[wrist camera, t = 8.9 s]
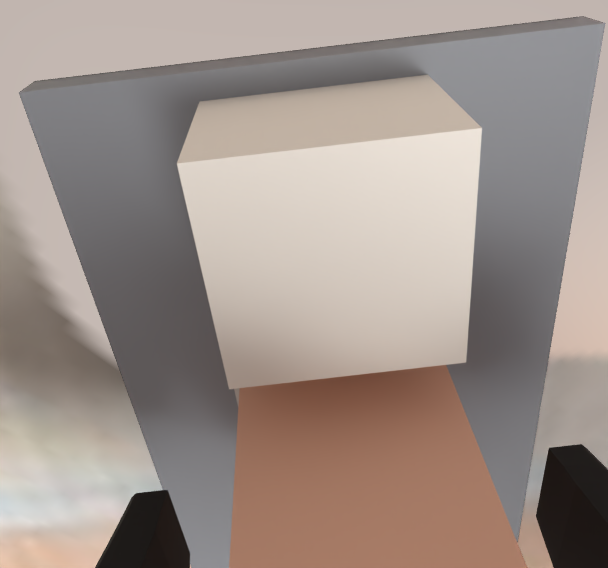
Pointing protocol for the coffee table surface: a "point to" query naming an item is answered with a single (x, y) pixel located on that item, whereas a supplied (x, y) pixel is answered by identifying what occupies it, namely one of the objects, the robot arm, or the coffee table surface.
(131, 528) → the robot arm
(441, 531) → the terracotta block
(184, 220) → the block set board
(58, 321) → the coffee table surface
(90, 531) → the coffee table surface
